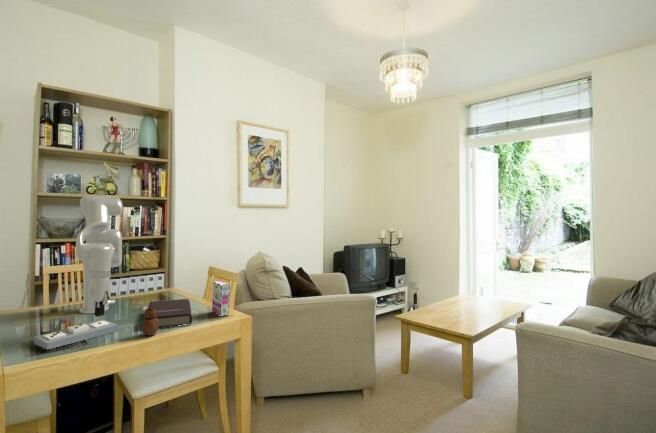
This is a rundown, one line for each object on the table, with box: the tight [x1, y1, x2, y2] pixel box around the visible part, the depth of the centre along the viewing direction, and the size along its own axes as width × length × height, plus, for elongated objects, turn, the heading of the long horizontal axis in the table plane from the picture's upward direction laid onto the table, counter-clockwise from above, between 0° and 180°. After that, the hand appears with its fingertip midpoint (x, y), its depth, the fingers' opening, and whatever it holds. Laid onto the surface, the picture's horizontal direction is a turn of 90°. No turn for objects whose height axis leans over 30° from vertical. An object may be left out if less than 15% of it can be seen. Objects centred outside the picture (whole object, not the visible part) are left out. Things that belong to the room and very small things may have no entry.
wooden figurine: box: [141, 302, 159, 336], centre depth 143 cm, size 7×6×15 cm
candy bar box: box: [211, 280, 231, 315], centre depth 174 cm, size 11×5×16 cm, turn 41°
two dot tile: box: [67, 323, 89, 334], centre depth 138 cm, size 6×6×3 cm
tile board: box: [33, 319, 119, 350], centre depth 138 cm, size 25×12×3 cm, turn 150°
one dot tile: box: [89, 320, 110, 328], centre depth 145 cm, size 6×6×3 cm
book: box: [147, 298, 193, 329], centre depth 165 cm, size 28×20×6 cm
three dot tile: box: [42, 330, 67, 341], centre depth 131 cm, size 6×6×3 cm
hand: (99, 315), depth 146 cm, fingers closed
